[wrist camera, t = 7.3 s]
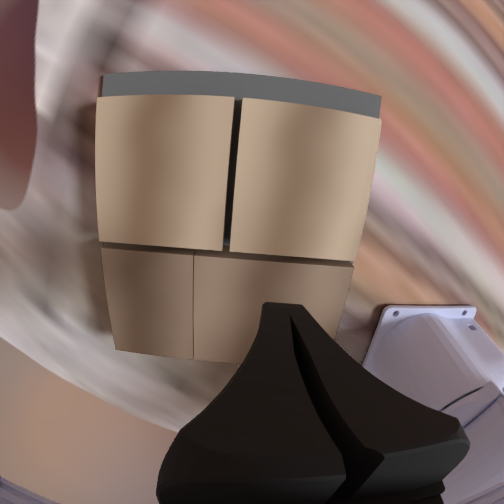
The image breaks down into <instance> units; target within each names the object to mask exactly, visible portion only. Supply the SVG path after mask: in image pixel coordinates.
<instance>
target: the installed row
mask: <svg viewBox="0 0 504 504" xmlns="http://www.w3.org/2000/svg"><path fill="white" fill-rule="evenodd" d="M101 258H102V267H103V275H104V283H105V291H106V298H107V304H108V311H109V317H110V322H111V328H112V334H113V339H114V344H115V349H116V350H121V351H128V352H134V353H141V354H148V355H156V356H164V357H172V358H181V359H191V360H193V358H194V360H201V361H213V362H225V363H240V364H242V362H243V361H244V359H245V357H246V356H247V354H248V352H249V350H250V348H251V346H252V344H253V342H254V340H255V337H256V335H257V332H258V329H259V322H260V316H261V310H262V304H264V303H265V302H276V303H289V304H302V305H303V306H304V307H305V308H306V309H307V311H308V312H309V313H310V314H311V315H312V317H313V318H314V319H315V320H316V321H317V322H318V323H319V325H320V326H321V327H322V328H323V329H324V330H325V331H326V332H327V334H328V335H329V336H330V337H331V338H332V339H333V340H335V336H336V333H337V330H338V326H339V323H340V319H341V316H342V312H343V309H344V305H345V301H346V298H347V294H348V290H349V286H350V282H351V278H352V274H353V270H354V267H353V265H352V264H351V262H350V261H345V260H332V259H319V258H306V257H293V256H280V255H267V254H254V253H242V252H230V246H229V245H223V248H222V251H216V250H203V249H190V248H178V247H165V246H152V245H140V244H127V243H114V242H106V243H105V244H104V245H103V246H102V247H101Z"/></svg>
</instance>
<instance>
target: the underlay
mask: <svg viewBox="0 0 504 504" xmlns="http://www.w3.org/2000/svg"><path fill="white" fill-rule="evenodd" d="M126 95H209V96H227V97H235V109H234V120H233V130H232V142H231V153H230V165H229V178H228V190H227V204H226V217H225V232H224V242H223V245H229V246H230V239H231V226H232V213H233V201H234V189H235V177H236V165H237V154H238V143H239V132H240V121H241V111H242V101H243V98H253V99H263V100H272V101H281V102H289V103H296V104H303V105H310V106H316V107H322V108H328V109H334V110H339V111H345V112H350V113H355V114H360V115H364V116H369V117H373V118H378V119H379V113H380V104H381V96H378V95H374V94H370V93H366V92H361V91H357V90H352V89H348V88H343V87H338V86H333V85H327V84H322V83H316V82H310V81H304V80H297V79H290V78H282V77H274V76H265V75H255V74H244V73H229V72H210V71H147V72H128V73H114V74H104V76H103V87H102V97H109V96H126ZM105 243H106V242H103V245H104V244H105ZM350 262H351V264H352V263H353V261H350Z"/></svg>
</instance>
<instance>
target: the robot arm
mask: <svg viewBox="0 0 504 504" xmlns="http://www.w3.org/2000/svg"><path fill="white" fill-rule="evenodd" d="M395 311H397V312H396V313H394V312H395ZM463 311H464V312H463ZM393 313H394V314H393ZM475 313H476V308H475V307H474V306H405V305H389V306H386V307H385V308H384V309H383V311H382V314H381V317H380V320H379V322H378V325H377V328H376V331H375V334H374V336H373V339H372V342H371V344H370V347H369V350H368V352H367V355H366V357H365V360H364V362H363V365H362V366H361V365H360V364H359V363H357V362H356V361H355V360H354V359H353V358H352V357H350V356H349V355H348V354H347V353H346V352H345V351H344V350H343V349H342V348H341V347H340V346H339V345H338V344H337V343H336V342H335V341H334V340H333V339H332V338H331V337H330V336H329V335H328V334H327V332H326V331H325V330H324V329H323V328H322V327H321V326H320V325H319V323H318V322H317V321H316V320H315V319H314V318H313V317H312V315H311V314H310V313H309V312H308V311H307V309H306V308H305V307H304V306H303V305H302V304H289V303H276V302H265V303H264V304H262V310H261V316H260V322H259V329H258V332H257V335H256V337H255V340H254V342H253V344H252V346H251V348H250V350H249V352H248V354H247V356H246V357H245V359H244V361H243V362H242V364H241V366H240V367H239V369H238V370H237V372H236V373H235V374H234V376H233V377H232V378H231V380H230V381H229V382H228V384H227V385H226V386H225V388H224V389H223V390H222V391H221V392H220V393H219V394H218V395H217V397H216V398H215V399H214V400H213V401H212V402H211V403H210V404H209V405H208V406H207V407H206V408H205V409H204V410H203V411H202V412H201V413H200V414H198V415H197V416H196V417H195V418H194V419H192V420H191V421H190V422H189V423H188V424H186V425H185V426H184V427H183V428H182V429H180V431H179V433H178V434H177V436H176V438H175V439H174V441H173V443H172V444H171V446H170V448H169V450H168V452H167V454H166V456H165V458H164V460H163V463H162V465H161V468H160V471H159V475H158V481H157V489H156V496H157V499H158V501H159V504H504V354H503V352H502V351H501V350H500V349H499V348H498V346H497V345H496V344H495V343H494V342H493V340H492V339H491V338H490V337H489V336H488V335H487V334H486V332H485V331H484V330H483V329H482V328H481V327H480V326H479V324H478V323H477V322H476V321H475V320H474V319H473V318H474V316H475ZM0 504H59V503H57V502H55V501H52V500H49V499H47V498H45V497H43V496H40V495H38V494H36V493H33V492H31V491H29V490H27V489H25V488H23V487H20V486H18V485H16V484H14V483H12V482H10V481H8V480H6V479H5V478H3V477H1V476H0Z"/></svg>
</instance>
